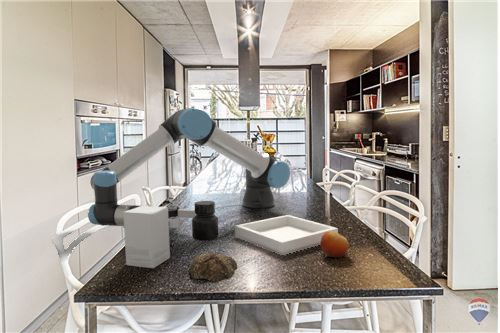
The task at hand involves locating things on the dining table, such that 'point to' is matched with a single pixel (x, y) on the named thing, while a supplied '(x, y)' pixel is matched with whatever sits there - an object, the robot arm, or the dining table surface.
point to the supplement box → (146, 236)
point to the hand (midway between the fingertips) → (187, 218)
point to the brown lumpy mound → (212, 267)
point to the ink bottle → (205, 221)
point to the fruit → (334, 244)
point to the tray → (283, 233)
